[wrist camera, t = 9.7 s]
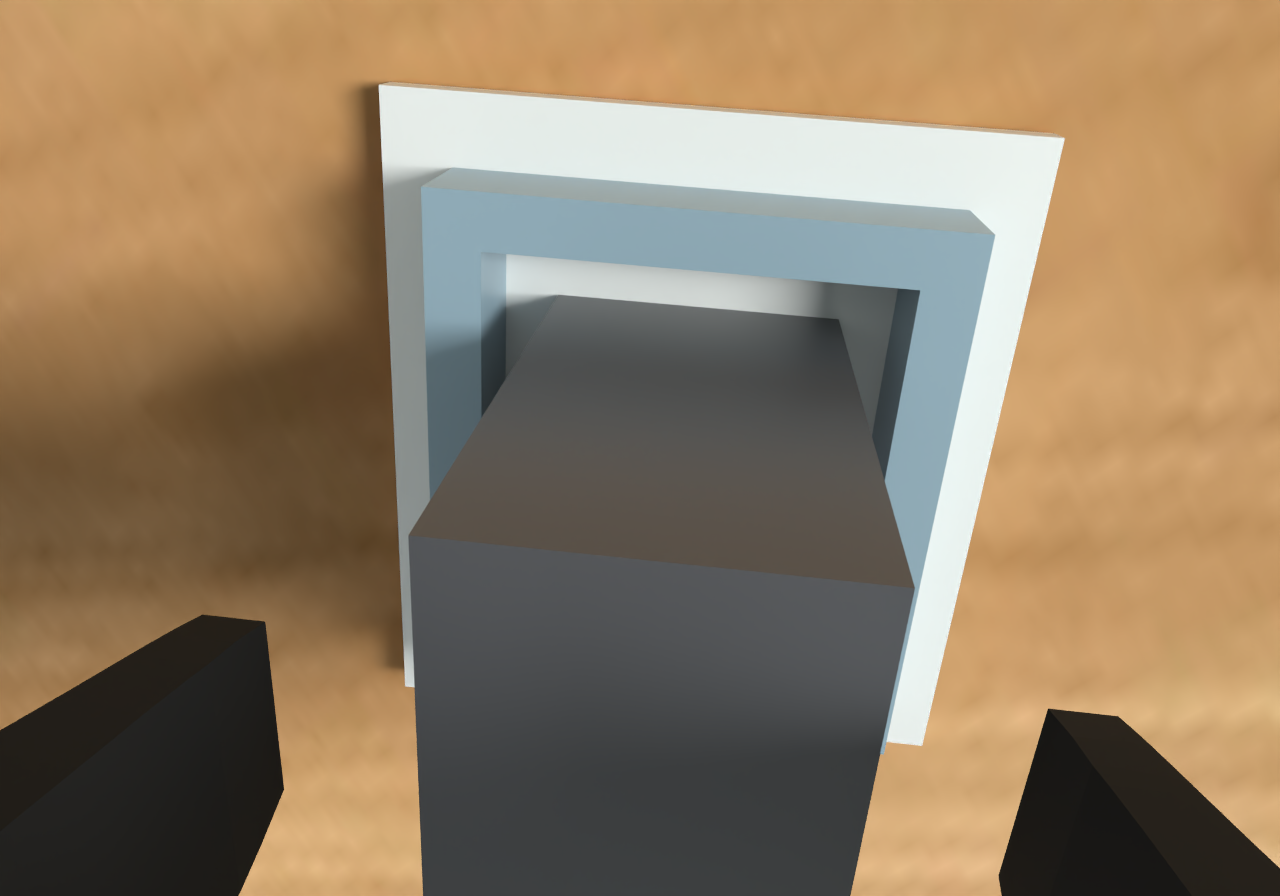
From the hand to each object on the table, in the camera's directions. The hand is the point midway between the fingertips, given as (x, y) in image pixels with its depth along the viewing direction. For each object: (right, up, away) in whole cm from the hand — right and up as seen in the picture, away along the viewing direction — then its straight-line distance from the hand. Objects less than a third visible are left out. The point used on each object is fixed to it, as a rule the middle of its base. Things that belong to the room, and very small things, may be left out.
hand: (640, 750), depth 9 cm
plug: (+1, +3, +6) cm, 7 cm away
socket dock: (+1, +3, +6) cm, 7 cm away
